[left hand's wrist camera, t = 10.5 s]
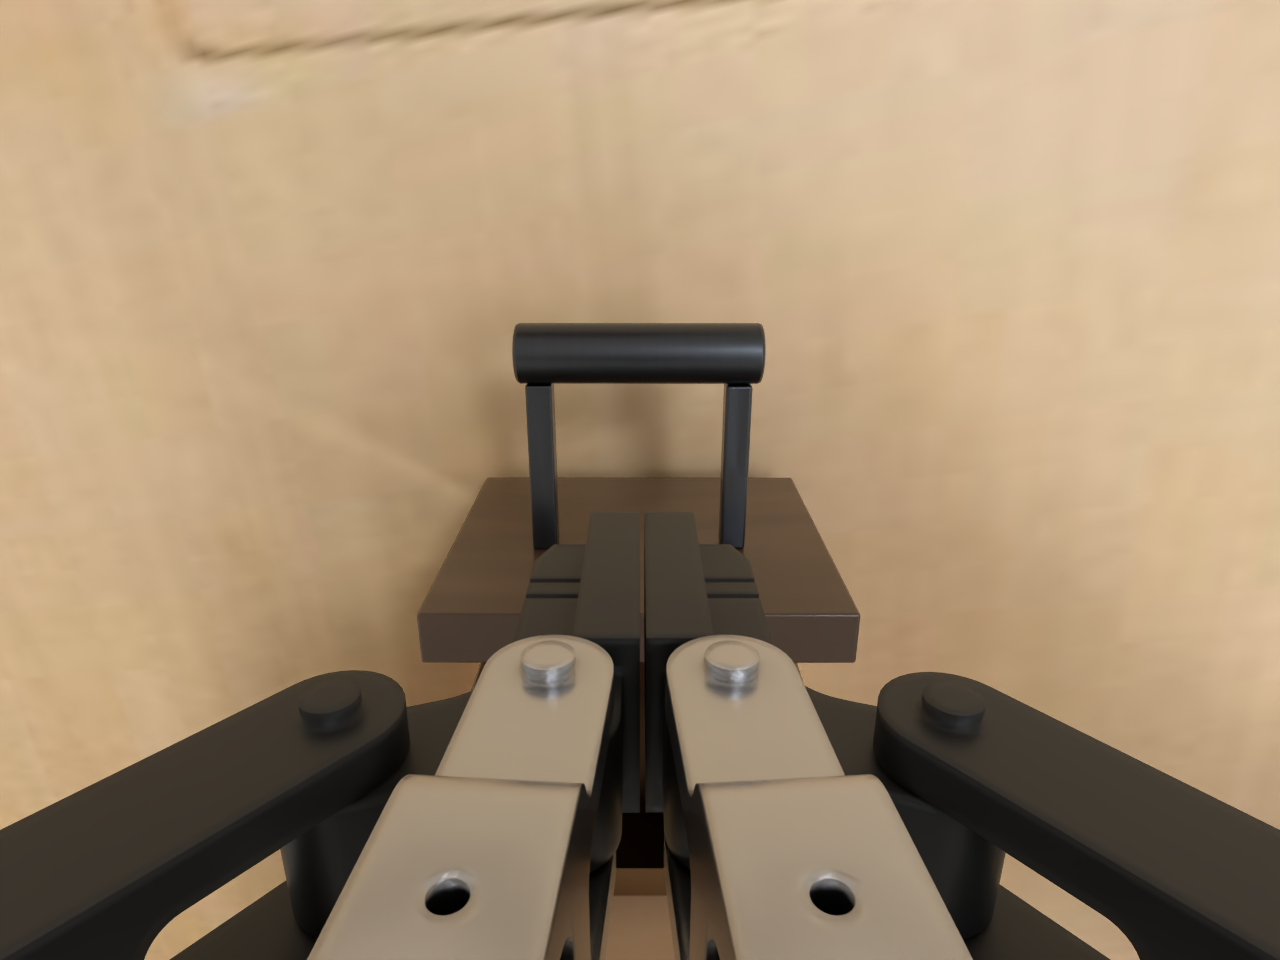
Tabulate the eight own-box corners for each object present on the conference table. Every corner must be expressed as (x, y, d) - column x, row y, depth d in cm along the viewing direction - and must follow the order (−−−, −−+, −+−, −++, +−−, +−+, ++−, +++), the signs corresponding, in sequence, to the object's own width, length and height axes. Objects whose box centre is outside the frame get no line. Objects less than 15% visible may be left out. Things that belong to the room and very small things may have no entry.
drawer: (474, 294, 23) (387, 354, 15) (804, 294, 23) (889, 355, 15) (519, 951, 32) (479, 1205, 24) (758, 951, 32) (797, 1205, 24)
